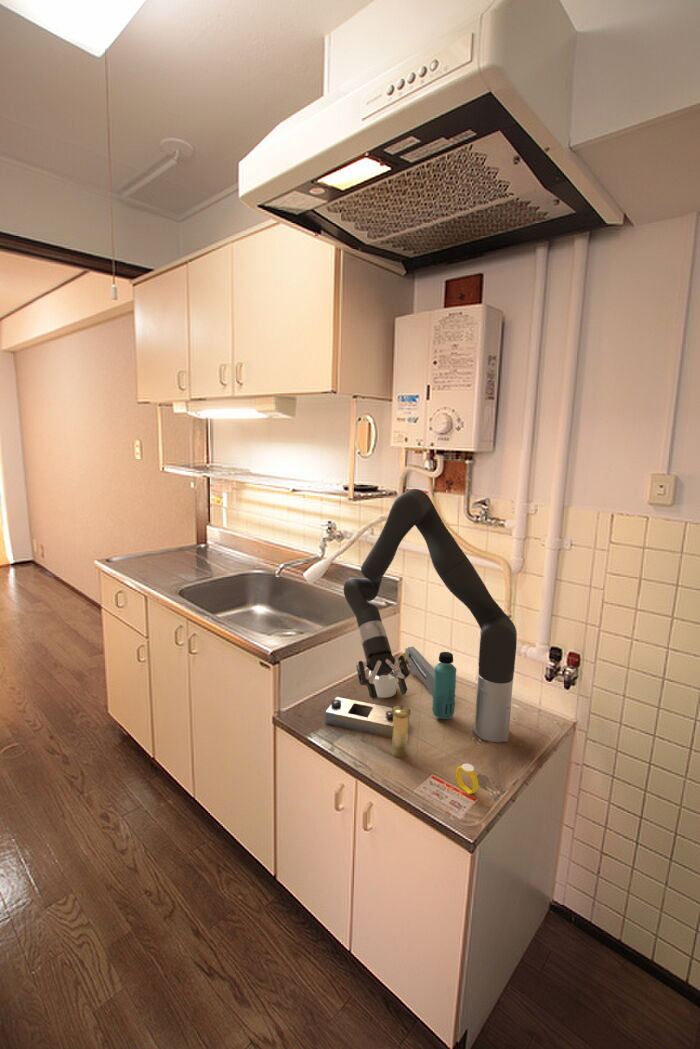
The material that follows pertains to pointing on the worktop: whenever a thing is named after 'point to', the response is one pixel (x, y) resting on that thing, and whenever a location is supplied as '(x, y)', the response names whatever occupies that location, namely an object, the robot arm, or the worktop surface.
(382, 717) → the metal socket block
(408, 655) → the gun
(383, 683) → the cylinder with rectangular tab
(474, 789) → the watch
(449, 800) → the worktop surface
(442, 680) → the beverage bottle
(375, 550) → the robot arm
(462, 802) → the worktop surface
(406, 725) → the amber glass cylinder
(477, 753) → the worktop surface
